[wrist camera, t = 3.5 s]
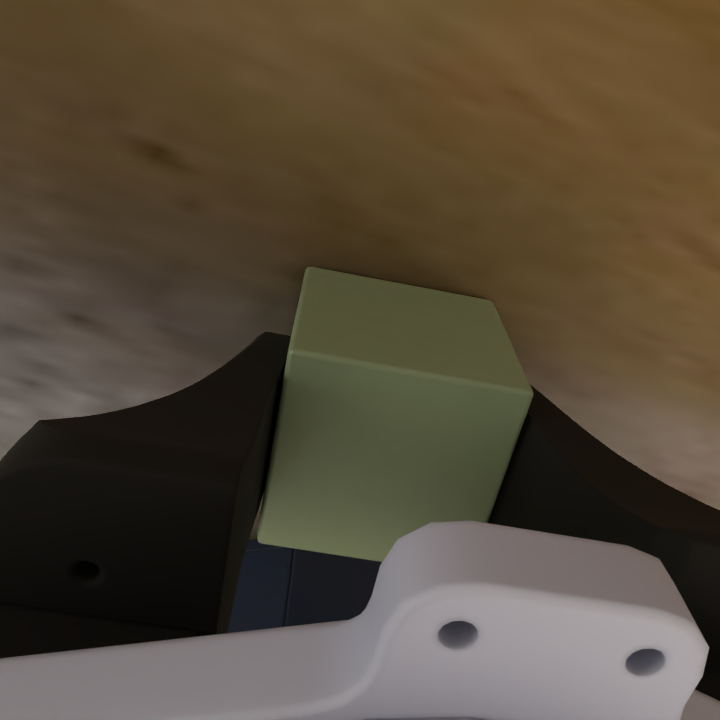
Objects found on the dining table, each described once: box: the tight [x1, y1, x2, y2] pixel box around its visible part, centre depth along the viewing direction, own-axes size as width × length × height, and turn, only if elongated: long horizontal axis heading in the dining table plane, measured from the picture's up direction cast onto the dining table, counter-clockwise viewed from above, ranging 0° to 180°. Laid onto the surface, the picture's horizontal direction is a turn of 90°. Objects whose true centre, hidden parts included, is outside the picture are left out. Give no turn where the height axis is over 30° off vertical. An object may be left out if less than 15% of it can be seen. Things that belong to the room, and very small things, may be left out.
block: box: [257, 267, 533, 562], centre depth 14 cm, size 4×4×4 cm
